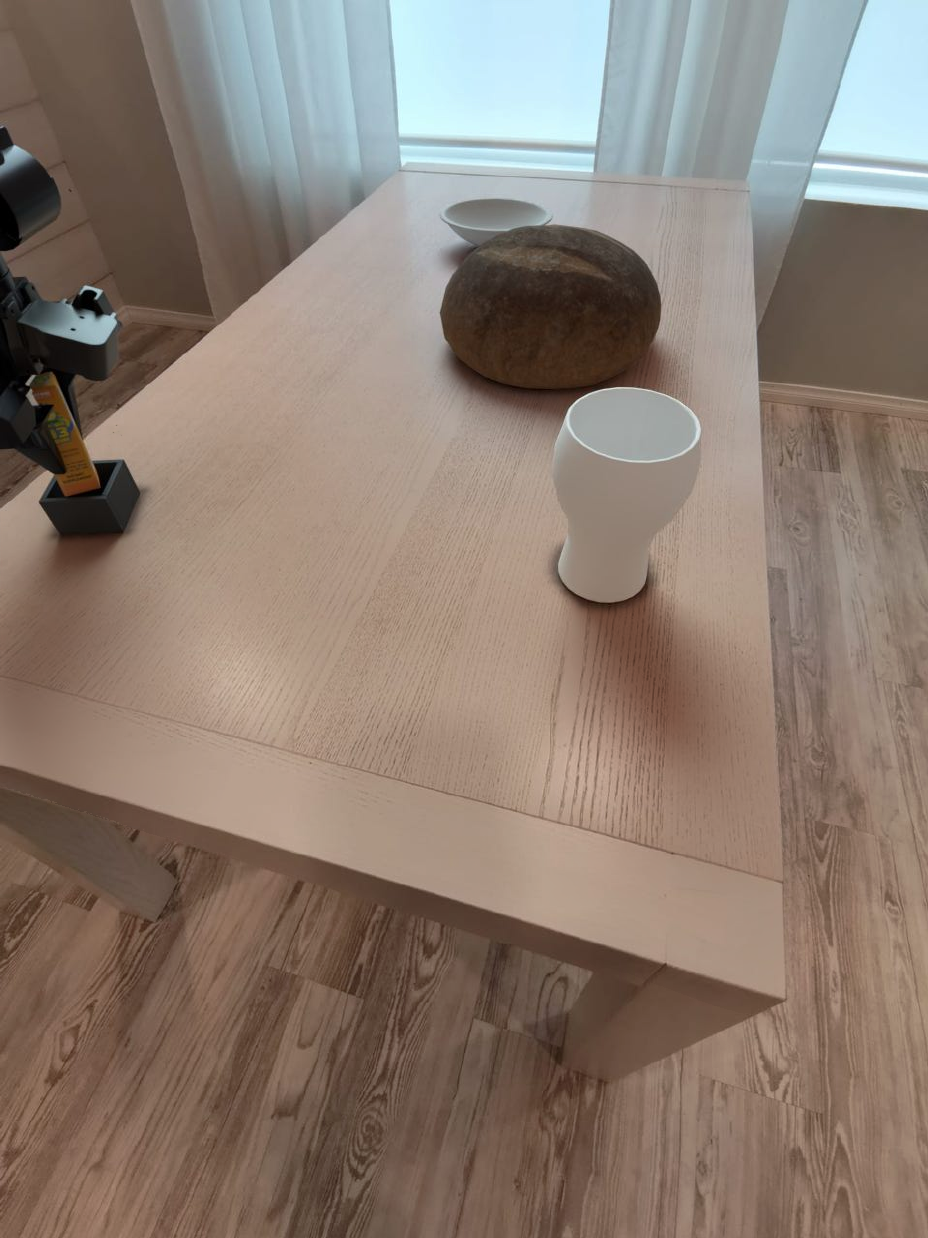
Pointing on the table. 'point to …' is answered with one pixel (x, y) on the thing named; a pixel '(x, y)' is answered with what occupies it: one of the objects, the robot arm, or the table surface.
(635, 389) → the cup
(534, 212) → the dish
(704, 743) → the table surface
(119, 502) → the trash bin
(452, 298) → the bread
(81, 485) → the supplement box
